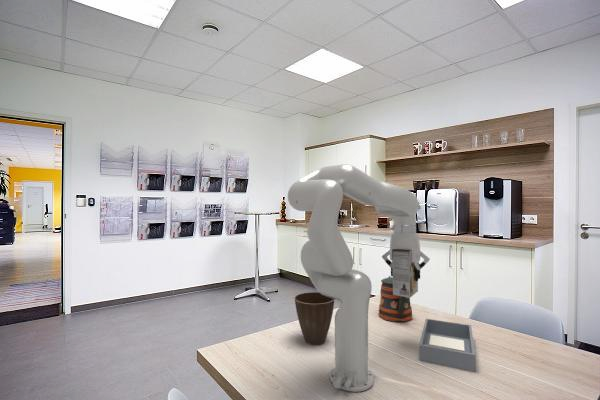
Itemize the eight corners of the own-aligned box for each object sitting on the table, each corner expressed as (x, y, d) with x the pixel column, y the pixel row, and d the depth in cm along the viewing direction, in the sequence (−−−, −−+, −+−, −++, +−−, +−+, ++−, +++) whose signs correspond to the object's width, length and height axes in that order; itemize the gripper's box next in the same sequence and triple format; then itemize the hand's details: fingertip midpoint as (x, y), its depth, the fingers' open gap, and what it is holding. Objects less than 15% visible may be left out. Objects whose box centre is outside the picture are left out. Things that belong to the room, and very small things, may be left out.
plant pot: (289, 347, 110) (289, 302, 111) (299, 330, 125) (299, 290, 125) (331, 351, 107) (331, 305, 107) (337, 334, 121) (336, 293, 122)
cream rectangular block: (464, 367, 95) (464, 350, 95) (429, 360, 99) (429, 344, 99) (463, 355, 102) (463, 340, 102) (430, 349, 106) (430, 334, 106)
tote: (475, 375, 92) (475, 355, 92) (419, 363, 99) (419, 344, 99) (471, 341, 115) (471, 325, 115) (425, 333, 122) (425, 318, 122)
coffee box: (400, 288, 116) (400, 246, 116) (418, 291, 113) (417, 247, 113) (392, 295, 109) (391, 249, 109) (410, 298, 105) (410, 250, 105)
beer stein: (423, 326, 130) (423, 277, 130) (389, 327, 128) (389, 278, 128) (403, 310, 149) (403, 268, 149) (374, 311, 147) (373, 269, 147)
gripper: (378, 230, 111) (378, 279, 111) (430, 231, 104) (431, 284, 104) (381, 228, 118) (382, 275, 118) (431, 229, 111) (432, 279, 110)
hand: (405, 279), depth 111 cm, fingers closed on coffee box, 7 cm apart
